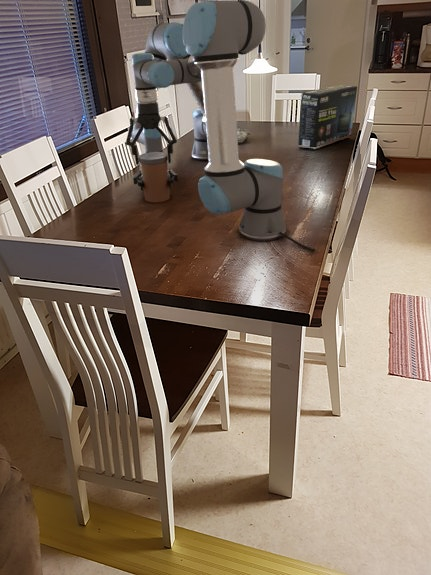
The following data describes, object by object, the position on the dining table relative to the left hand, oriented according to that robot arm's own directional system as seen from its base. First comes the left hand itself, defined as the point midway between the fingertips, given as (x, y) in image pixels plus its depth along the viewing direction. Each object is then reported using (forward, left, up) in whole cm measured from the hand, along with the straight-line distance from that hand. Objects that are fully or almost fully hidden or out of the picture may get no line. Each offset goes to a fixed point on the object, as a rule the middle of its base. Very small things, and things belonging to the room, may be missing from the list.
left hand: (155, 185), depth 174 cm
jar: (-4, -2, -6) cm, 8 cm away
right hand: (-4, -2, +8) cm, 9 cm away
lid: (-4, -2, +10) cm, 11 cm away
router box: (-101, +52, -6) cm, 114 cm away
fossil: (-99, +2, -6) cm, 99 cm away
